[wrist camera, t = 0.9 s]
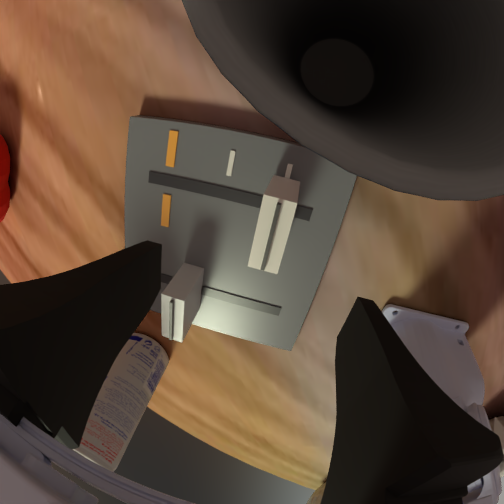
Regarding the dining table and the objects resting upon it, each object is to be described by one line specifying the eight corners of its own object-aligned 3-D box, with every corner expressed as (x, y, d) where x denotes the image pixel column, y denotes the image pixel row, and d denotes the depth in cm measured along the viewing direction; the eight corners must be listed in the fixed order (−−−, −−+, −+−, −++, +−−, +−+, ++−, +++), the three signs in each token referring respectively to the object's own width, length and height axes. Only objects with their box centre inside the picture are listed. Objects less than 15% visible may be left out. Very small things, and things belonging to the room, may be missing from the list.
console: (357, 160, 17) (375, 182, 12) (292, 341, 25) (285, 391, 20) (139, 115, 18) (89, 124, 13) (134, 294, 26) (104, 332, 21)
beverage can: (123, 322, 28) (47, 433, 15) (170, 341, 28) (105, 467, 15) (127, 354, 31) (67, 454, 18) (170, 371, 31) (117, 482, 18)
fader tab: (300, 181, 17) (297, 205, 13) (284, 240, 19) (276, 277, 15) (273, 174, 17) (262, 196, 13) (259, 234, 19) (246, 269, 15)
